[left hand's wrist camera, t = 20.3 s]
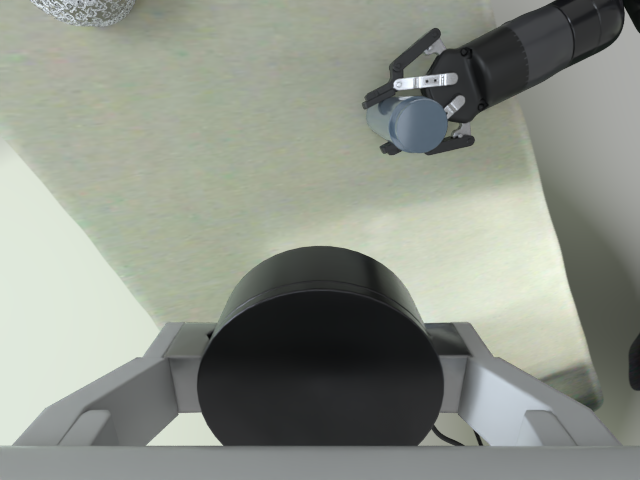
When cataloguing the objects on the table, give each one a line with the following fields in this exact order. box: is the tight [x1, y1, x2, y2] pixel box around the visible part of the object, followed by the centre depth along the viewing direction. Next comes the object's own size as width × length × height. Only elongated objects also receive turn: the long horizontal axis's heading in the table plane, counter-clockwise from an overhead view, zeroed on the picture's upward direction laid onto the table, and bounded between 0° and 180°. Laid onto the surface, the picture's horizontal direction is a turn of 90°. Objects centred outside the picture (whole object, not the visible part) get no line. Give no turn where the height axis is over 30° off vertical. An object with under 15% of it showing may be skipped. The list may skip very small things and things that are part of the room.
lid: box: [197, 246, 444, 446], centre depth 10 cm, size 6×6×2 cm
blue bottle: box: [366, 96, 448, 153], centre depth 40 cm, size 5×5×19 cm
